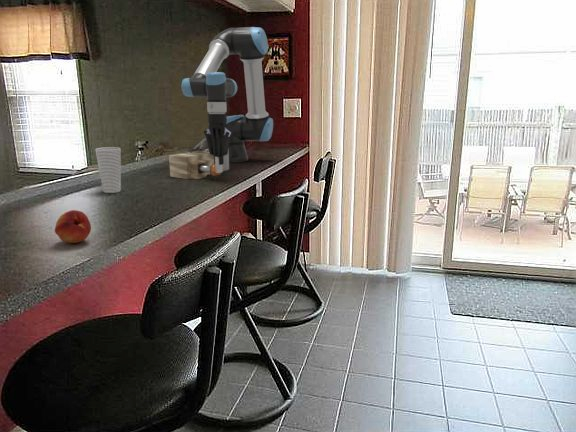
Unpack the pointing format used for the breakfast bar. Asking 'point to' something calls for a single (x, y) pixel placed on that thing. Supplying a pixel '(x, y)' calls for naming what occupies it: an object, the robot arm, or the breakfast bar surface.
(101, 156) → the cup
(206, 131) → the robot arm
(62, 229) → the fruit
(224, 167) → the mug
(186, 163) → the block
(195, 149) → the plate
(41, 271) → the breakfast bar surface
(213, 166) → the pin
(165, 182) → the breakfast bar surface
